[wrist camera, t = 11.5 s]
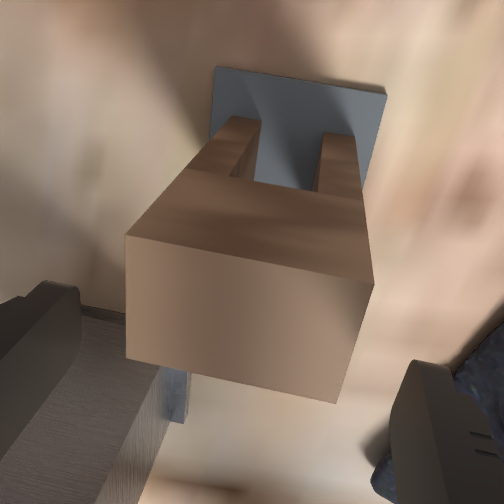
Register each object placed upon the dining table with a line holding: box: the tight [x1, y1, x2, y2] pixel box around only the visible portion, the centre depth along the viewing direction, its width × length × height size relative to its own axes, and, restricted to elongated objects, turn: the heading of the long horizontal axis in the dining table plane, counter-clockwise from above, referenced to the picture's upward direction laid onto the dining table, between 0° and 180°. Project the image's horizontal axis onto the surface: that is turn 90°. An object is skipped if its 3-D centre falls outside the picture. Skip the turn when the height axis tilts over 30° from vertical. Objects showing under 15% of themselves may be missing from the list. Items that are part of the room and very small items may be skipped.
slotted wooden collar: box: [125, 115, 374, 404], centre depth 17 cm, size 6×4×13 cm, turn 82°
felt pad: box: [209, 66, 388, 191], centre depth 23 cm, size 8×8×1 cm
